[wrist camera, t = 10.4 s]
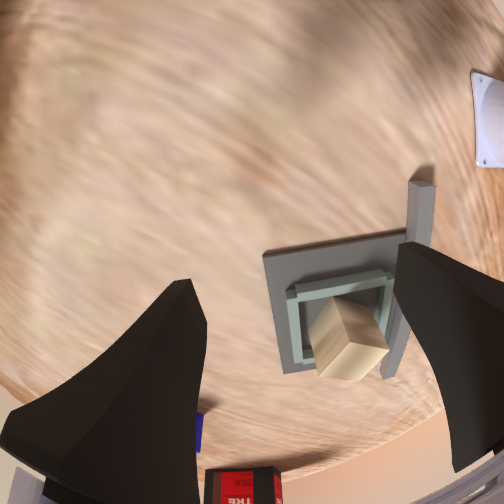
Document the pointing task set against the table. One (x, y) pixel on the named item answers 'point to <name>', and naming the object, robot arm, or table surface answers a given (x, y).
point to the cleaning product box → (243, 486)
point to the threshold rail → (417, 231)
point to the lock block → (346, 340)
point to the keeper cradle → (328, 289)
